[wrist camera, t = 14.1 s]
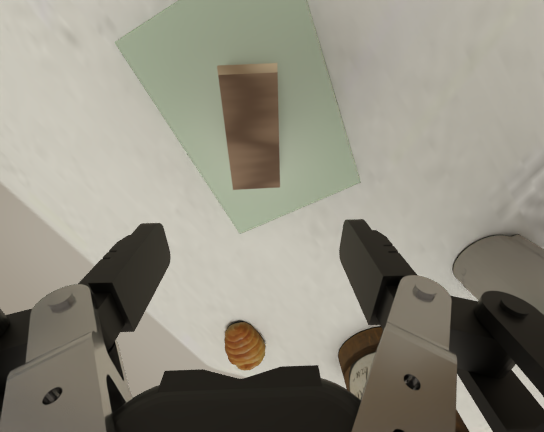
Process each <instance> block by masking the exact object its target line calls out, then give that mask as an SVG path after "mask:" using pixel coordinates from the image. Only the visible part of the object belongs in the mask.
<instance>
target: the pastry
mask: <svg viewBox="0 0 544 432" xmlns="http://www.w3.org/2000/svg"><path fill="white" fill-rule="evenodd" d="M225 351H226V353H227V355H228V359H229V361H230V362H231V363H232V364H234V365H236V366H237V367H238V368H239V369H241V370H251V369H253V368H254V367H255V366H258V365H259V364H260V363H261V361H262V360H263V358H264V356H265V344H264V341H263V339H262V337H261V336H260V335H259V333H258V332H257V331H256V330H255V329H254V328H253V327H252V326H251V325H249V324H247V323H246V322H240V323H235V324H232V325H230V326H229V328H228V329H227V330H226V332H225Z"/></svg>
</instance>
